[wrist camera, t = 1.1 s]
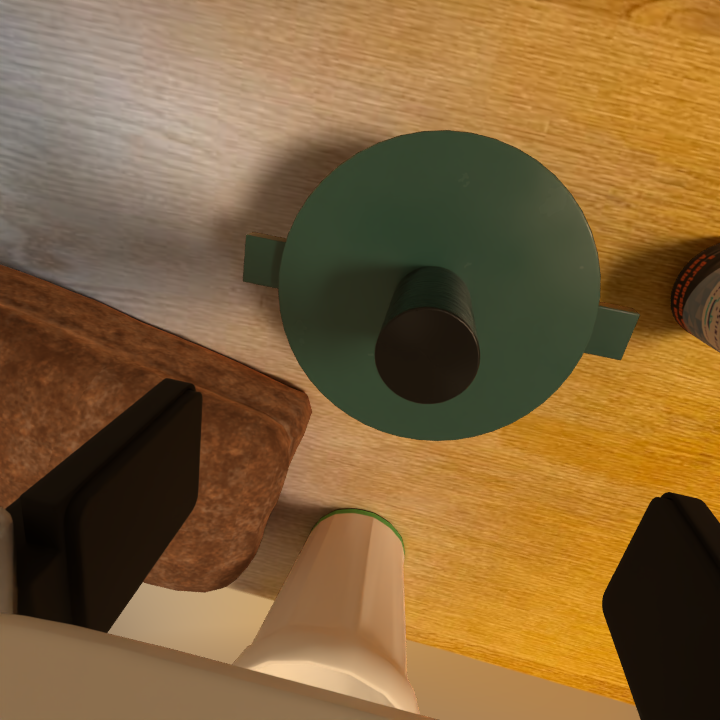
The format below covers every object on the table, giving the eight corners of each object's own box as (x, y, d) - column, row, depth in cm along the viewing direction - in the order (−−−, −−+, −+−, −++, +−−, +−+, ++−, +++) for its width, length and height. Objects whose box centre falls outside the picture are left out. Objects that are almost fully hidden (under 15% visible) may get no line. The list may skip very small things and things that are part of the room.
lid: (303, 103, 22) (235, 80, 15) (646, 165, 20) (750, 172, 14) (272, 396, 28) (213, 480, 21) (536, 456, 26) (569, 566, 19)
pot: (309, 120, 31) (249, 106, 21) (618, 176, 30) (702, 188, 20) (286, 323, 37) (230, 384, 27) (546, 379, 35) (584, 464, 26)
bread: (264, 541, 45) (209, 658, 35) (-37, 413, 45) (-183, 492, 34) (327, 388, 38) (282, 478, 28) (-29, 235, 38) (-210, 267, 27)
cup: (359, 619, 47) (323, 817, 33) (260, 538, 45) (178, 711, 31) (459, 556, 42) (466, 755, 28) (353, 462, 40) (305, 626, 26)
